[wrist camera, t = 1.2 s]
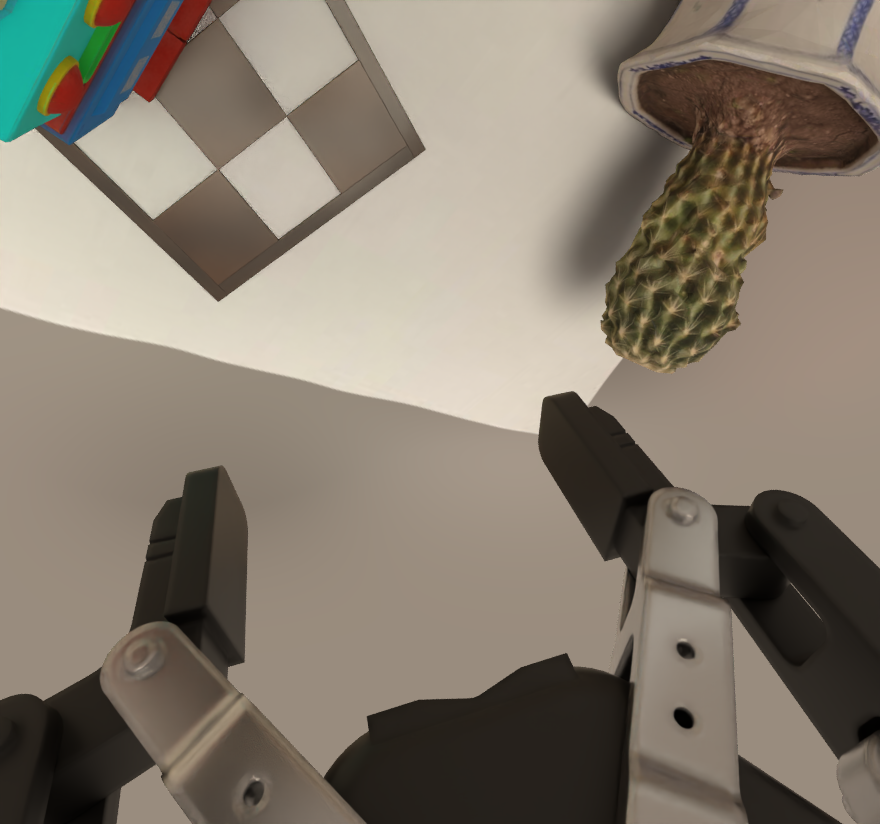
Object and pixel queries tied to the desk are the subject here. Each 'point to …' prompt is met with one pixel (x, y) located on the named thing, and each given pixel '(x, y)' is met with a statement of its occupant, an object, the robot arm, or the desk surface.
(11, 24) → the toy robot
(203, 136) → the chessboard
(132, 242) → the desk surface
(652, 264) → the potted plant
